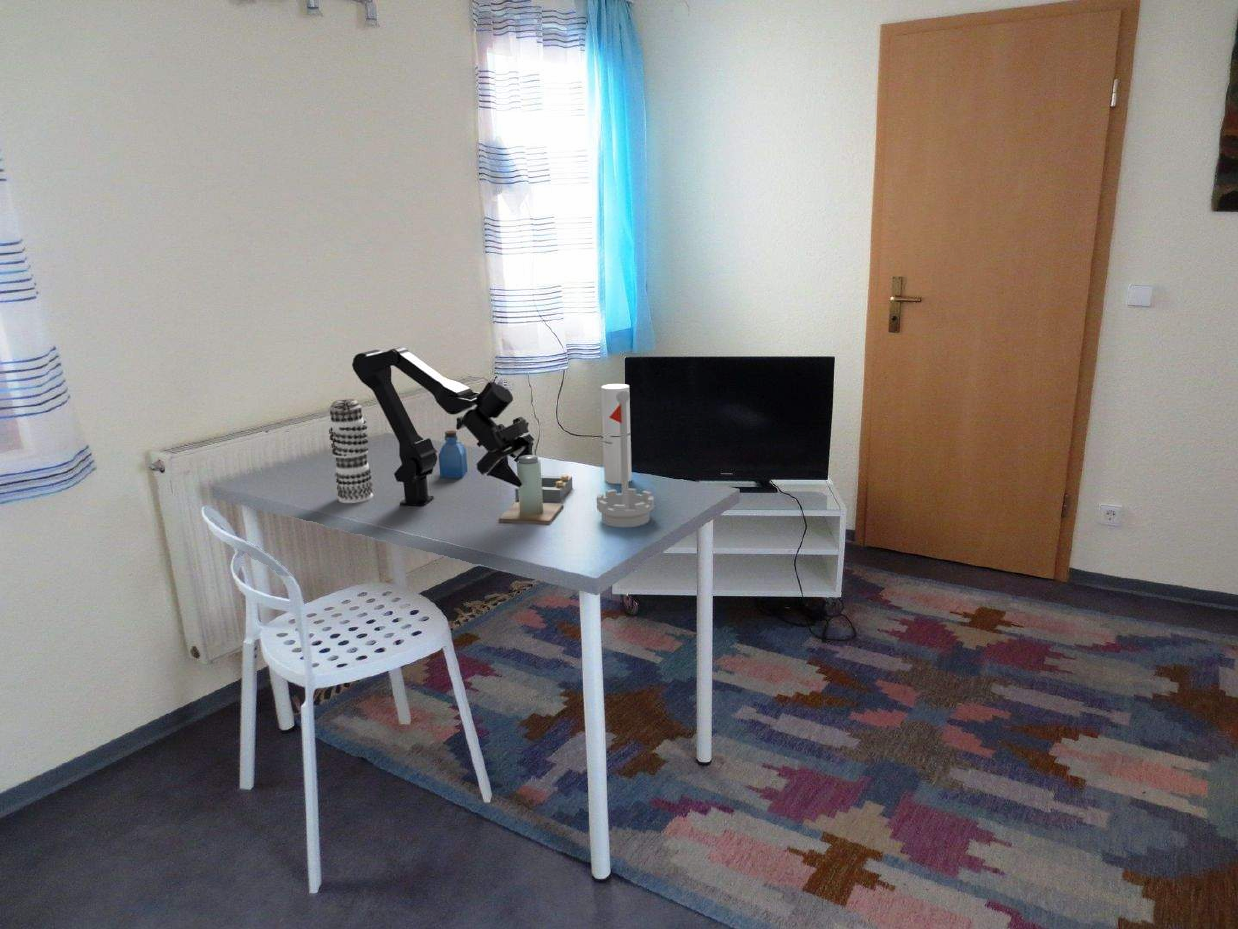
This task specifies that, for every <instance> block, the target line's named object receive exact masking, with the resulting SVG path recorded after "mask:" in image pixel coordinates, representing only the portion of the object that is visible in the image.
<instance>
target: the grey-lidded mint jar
mask: <svg viewBox="0 0 1238 929" xmlns="http://www.w3.org/2000/svg"><path fill="white" fill-rule="evenodd" d="M515 463H516V473H517V474H516V475H517V477H518V478H519V479H520V481H521V483H522V485H521V487H518V492H519V500H518V502H519V506H520V513H521V514H525V515H534V514H539V513H541V512H543V503H544V501H543V495H542V479H541V476H542V465H541V464H542V462H541V460H540V459H539V458H538V456H537V455H534V454H533V455H524V456H521V457H519V461H517V462H515Z"/></svg>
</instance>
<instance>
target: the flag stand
mask: <svg viewBox="0 0 1238 929" xmlns="http://www.w3.org/2000/svg"><path fill="white" fill-rule="evenodd" d="M629 393H630V392H629ZM629 393H628V392H627V391H625V390H620V391H618V392H617V394H616V399H617V401H618V402H619V406H618V407H617V409H616V410H615V411H614V412H613V413H612V415H611V416H610V417H609V418H611V419H613V420H615V421H617V422H619V423H620V443H621V480H622V484H621V493H620V492H619V493H617V491H618V490H616V489H608V490H606V491H605V495H604V494H603V493H602V494H601V493H600V494H597V496H596V509H597V511H598V512H599V513H601V522H602V521H603V522H604V523H603V522H602V523H603V524H605V525H607V526H609V527H613V528H614V527H615V528H635V527H639V526H643V525H645V524H647V523H648V522H650V519H651V517H650V515H651V511H653V509H655V508H654V507H655V497H654V496H652V492H650V491H647V490H643V491H641V493H637V488H631V487H629V482H628V452H627V413H626V402H627V401H628V400H629Z"/></svg>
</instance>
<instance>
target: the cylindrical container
mask: <svg viewBox="0 0 1238 929" xmlns="http://www.w3.org/2000/svg"><path fill="white" fill-rule="evenodd" d="M620 390H625V391H627V392H628V393H629V400H628V401H627V402H626V413H627V452H628V483H630V482H631V481H632V447H631V446H632V442H631V438H632V437H631V408H630V407H631V404H630V401H631V398H630V397H631V396H630V395H631V394H630V385H629V384H625V383H608V384H604V385H602V386H601V408H602V409H601V412H602V413H601V414H602V417H601V418H602V439H603V440H602V443H603V447H602V448H603V475H604V482H605V481H606V482H605V483H608V484H614V485H615V484H616V485H620V484H621V485H622V480H621V443H620V423H619V422H617V421H615V420H613V419H611V418H609V417H610V416H611V415H612V413H613V412H614V411H615V410H616V409H617V407H618V406H619V402H618V401H617V399H616V394H617V392H618V391H620ZM629 481H630V482H629Z"/></svg>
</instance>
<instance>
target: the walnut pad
mask: <svg viewBox="0 0 1238 929" xmlns="http://www.w3.org/2000/svg"><path fill="white" fill-rule="evenodd" d="M563 509H564V503H553V502H552V503H549V502H548V503H547V502H543V512H541V513H539V514H534V515H525V514H521V513H520V506H519V501H515V502H514V503H513V504H512V505H511V506H509V507H508V509H507V510H505V511H504V513H503V514H502V515H501V516H500V517H499V518H498V522H499V521H502V522H501V523H516V522H524V523H523V524H538V523H543V524H542V525H550V524H551V523H552V522H553V521H554V519H555V518H556V517H557V516H558V514H559V513H560V512H561V511H562V510H563ZM560 510H561V511H560ZM556 515H557V516H556ZM555 516H556V517H555ZM503 521H504V522H503ZM551 521H552V522H551ZM526 522H527V523H526ZM550 522H551V523H550Z"/></svg>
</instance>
